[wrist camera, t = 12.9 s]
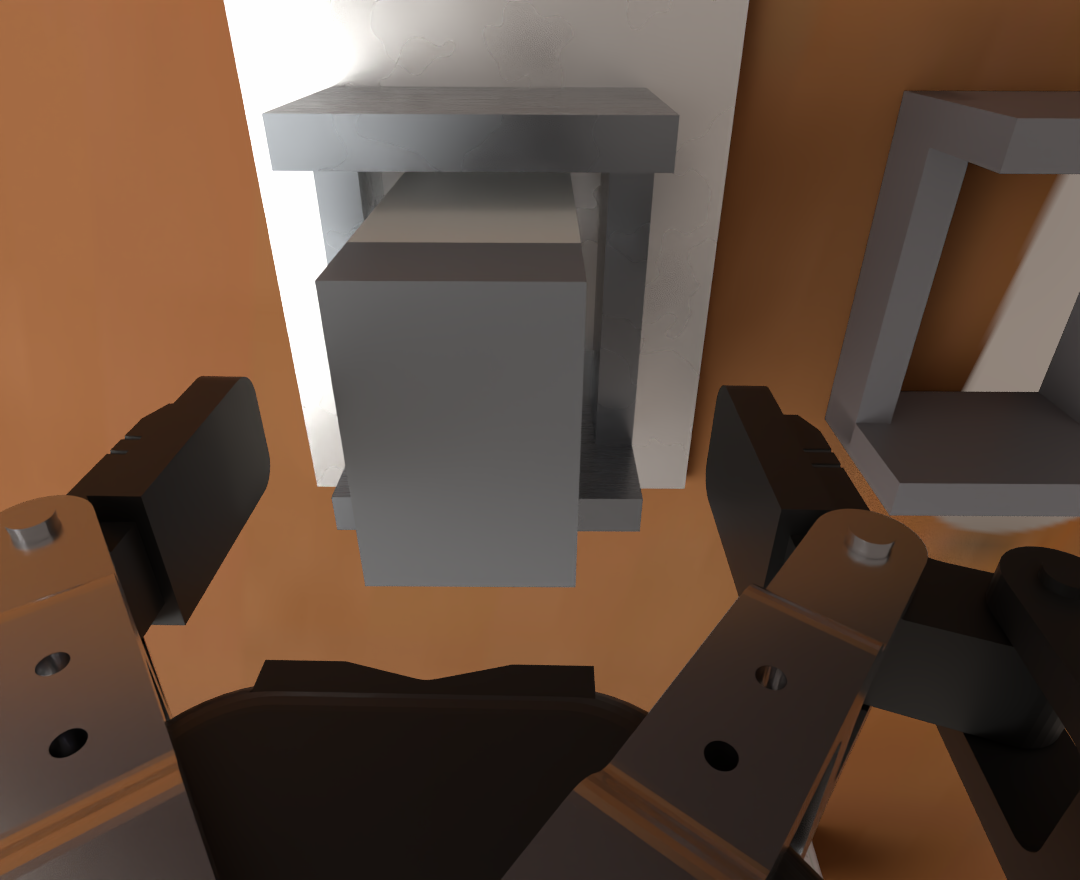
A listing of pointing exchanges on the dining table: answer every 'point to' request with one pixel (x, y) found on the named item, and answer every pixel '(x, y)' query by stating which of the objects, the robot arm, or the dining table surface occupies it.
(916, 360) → the dining table surface
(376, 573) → the plug
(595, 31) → the block
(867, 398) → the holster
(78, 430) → the dining table surface
